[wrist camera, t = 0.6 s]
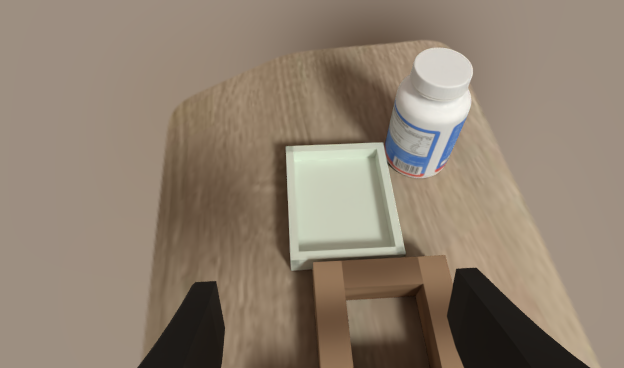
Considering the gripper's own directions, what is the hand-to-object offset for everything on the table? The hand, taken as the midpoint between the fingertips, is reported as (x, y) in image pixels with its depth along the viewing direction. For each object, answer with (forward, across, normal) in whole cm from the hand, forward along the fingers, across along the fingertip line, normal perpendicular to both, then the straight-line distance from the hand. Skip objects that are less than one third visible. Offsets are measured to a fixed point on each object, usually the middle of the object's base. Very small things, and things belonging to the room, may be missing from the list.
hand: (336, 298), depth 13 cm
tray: (+18, -2, +10) cm, 21 cm away
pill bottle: (+23, -9, +8) cm, 26 cm away
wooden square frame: (+9, -4, +14) cm, 17 cm away
